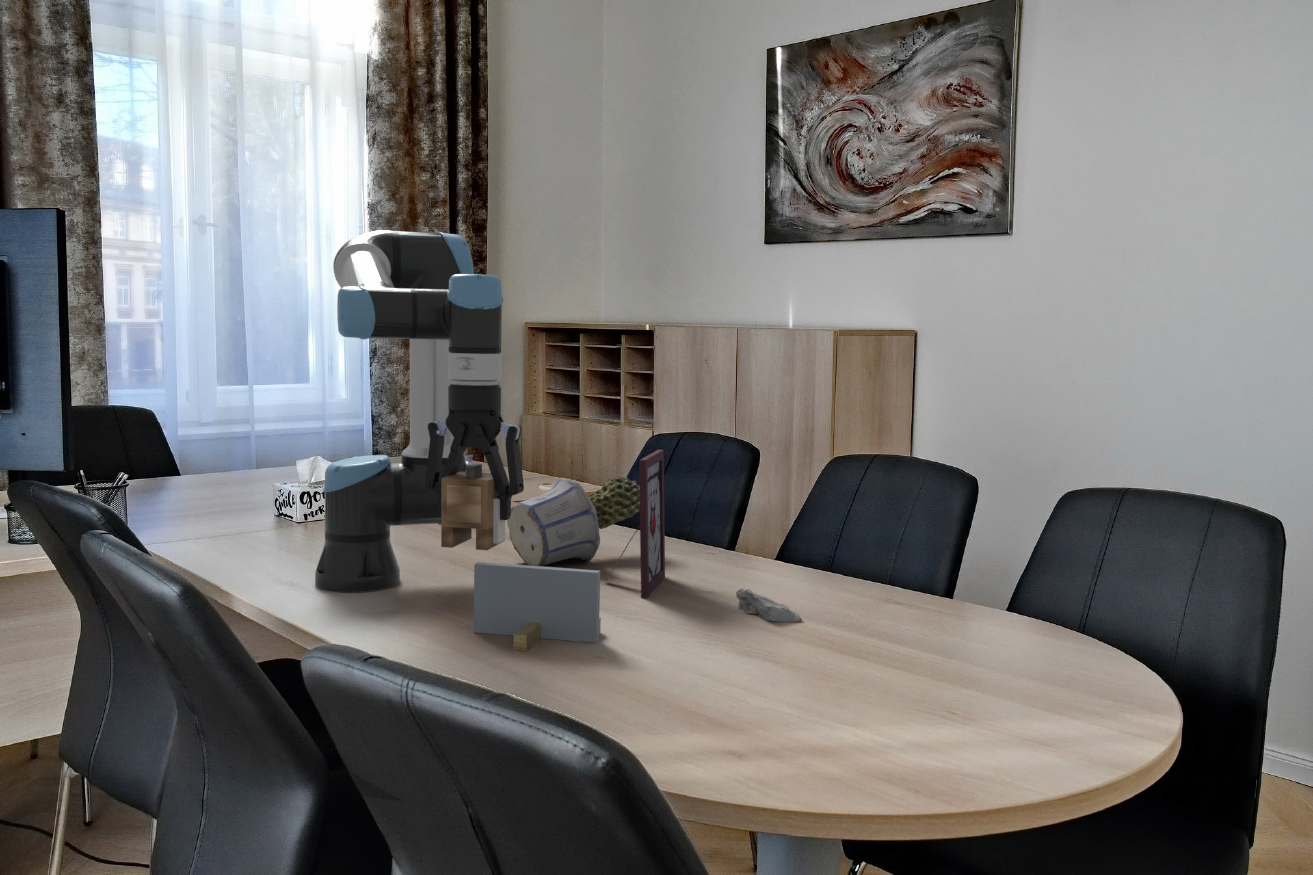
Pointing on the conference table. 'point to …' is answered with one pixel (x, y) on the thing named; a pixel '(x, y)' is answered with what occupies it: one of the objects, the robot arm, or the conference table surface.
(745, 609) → the stone
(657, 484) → the picture frame
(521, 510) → the potted plant
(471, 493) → the cabinet block
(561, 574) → the wall board
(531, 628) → the rail
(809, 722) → the conference table surface
